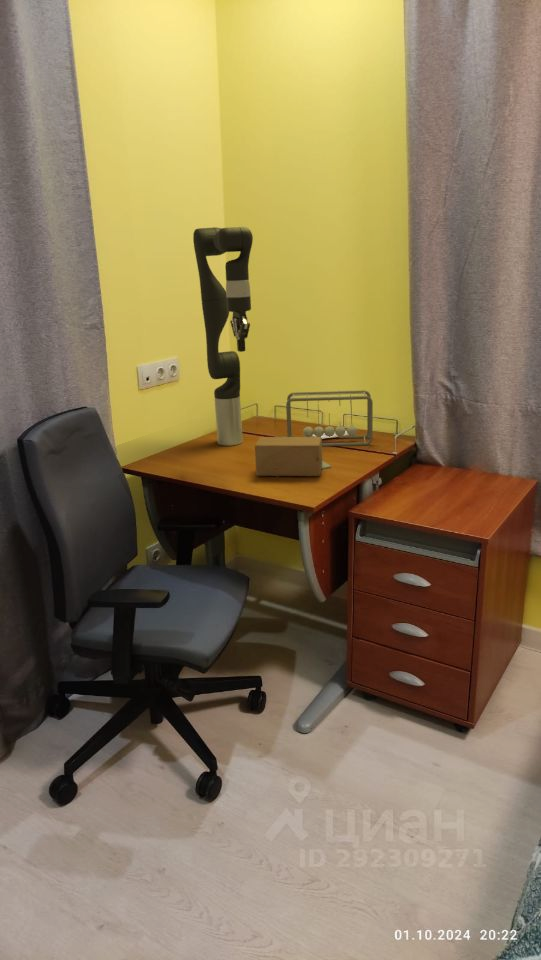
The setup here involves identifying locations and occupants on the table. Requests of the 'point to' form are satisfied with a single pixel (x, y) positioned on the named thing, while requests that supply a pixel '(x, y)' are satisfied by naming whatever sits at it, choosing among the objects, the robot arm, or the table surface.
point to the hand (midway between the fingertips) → (241, 351)
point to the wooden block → (288, 456)
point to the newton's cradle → (329, 430)
